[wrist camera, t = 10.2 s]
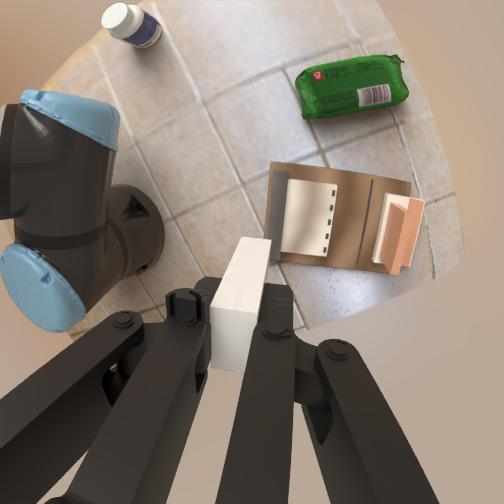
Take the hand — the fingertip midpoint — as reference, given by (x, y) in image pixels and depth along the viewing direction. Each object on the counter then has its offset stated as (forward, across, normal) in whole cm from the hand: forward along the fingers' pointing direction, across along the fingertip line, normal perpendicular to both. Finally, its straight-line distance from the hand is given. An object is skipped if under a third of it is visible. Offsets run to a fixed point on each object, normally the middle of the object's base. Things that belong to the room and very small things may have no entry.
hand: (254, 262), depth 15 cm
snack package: (+27, +9, +15) cm, 32 cm away
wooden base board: (+26, +9, -4) cm, 28 cm away
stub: (+25, +18, -4) cm, 31 cm away
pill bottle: (+27, -21, +23) cm, 41 cm away
